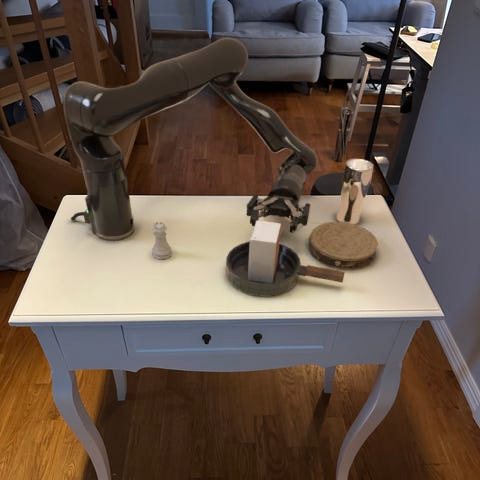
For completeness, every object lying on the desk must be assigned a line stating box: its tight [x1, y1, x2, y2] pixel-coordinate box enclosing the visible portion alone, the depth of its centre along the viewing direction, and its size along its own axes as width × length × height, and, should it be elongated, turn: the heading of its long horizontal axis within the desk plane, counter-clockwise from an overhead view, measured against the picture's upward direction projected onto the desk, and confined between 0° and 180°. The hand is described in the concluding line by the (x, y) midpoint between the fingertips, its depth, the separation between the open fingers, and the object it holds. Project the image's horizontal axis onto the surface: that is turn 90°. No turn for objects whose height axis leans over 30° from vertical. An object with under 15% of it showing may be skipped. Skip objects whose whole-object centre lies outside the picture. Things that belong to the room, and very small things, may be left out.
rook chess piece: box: [151, 221, 173, 260], centre depth 102 cm, size 4×4×8 cm
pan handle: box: [298, 264, 346, 283], centre depth 96 cm, size 10×2×2 cm, turn 74°
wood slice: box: [308, 221, 379, 271], centre depth 107 cm, size 16×16×3 cm
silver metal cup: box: [335, 158, 374, 225], centre depth 114 cm, size 7×7×15 cm
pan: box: [225, 240, 302, 297], centre depth 99 cm, size 16×16×4 cm
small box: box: [248, 219, 282, 283], centre depth 97 cm, size 8×6×10 cm
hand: (271, 226), depth 99 cm, fingers open, 8 cm apart
